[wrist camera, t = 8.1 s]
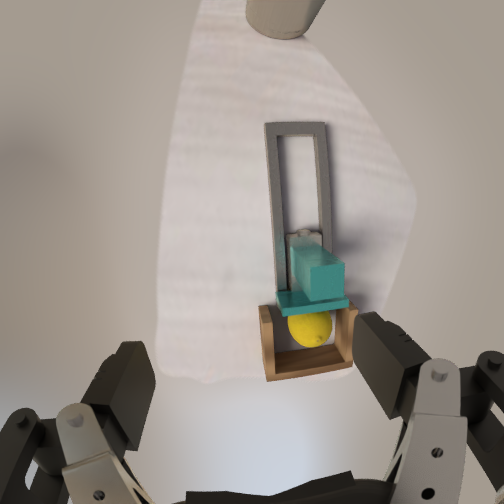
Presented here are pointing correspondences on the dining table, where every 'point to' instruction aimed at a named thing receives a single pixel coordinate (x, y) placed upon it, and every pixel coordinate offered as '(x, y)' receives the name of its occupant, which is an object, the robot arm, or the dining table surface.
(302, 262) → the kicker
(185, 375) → the dining table surface
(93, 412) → the robot arm
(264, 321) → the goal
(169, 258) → the dining table surface
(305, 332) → the lemon
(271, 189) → the rails
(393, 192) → the dining table surface
